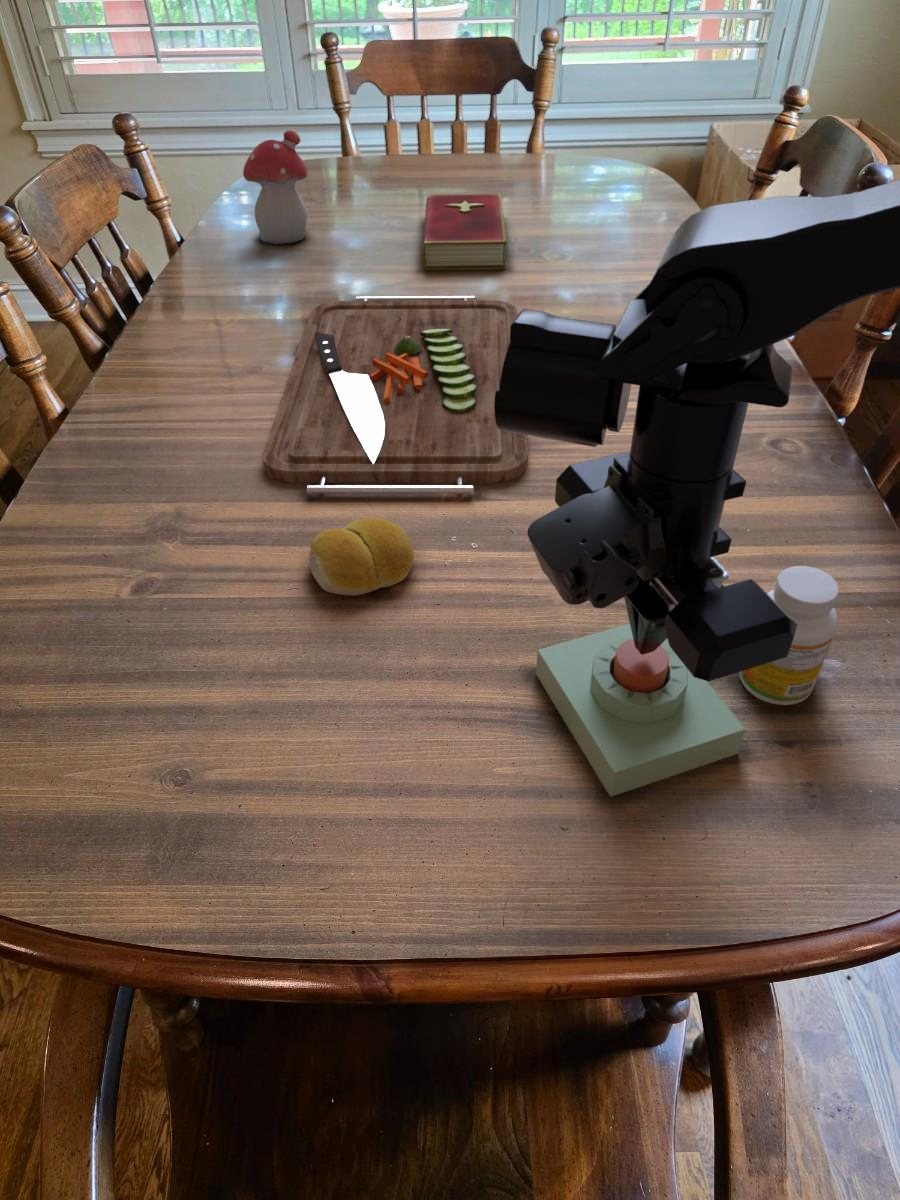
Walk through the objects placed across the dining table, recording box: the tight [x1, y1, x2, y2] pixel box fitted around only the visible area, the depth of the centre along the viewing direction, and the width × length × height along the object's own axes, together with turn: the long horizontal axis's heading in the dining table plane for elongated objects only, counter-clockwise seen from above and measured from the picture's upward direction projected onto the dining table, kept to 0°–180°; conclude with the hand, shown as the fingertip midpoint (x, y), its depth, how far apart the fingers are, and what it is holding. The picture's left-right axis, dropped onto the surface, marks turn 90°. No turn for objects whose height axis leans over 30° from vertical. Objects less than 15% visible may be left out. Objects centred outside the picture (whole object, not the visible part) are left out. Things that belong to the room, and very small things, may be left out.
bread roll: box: [307, 517, 415, 597], centre depth 75 cm, size 8×9×4 cm
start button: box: [613, 639, 669, 693], centre depth 60 cm, size 4×4×2 cm
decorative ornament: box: [242, 129, 308, 245], centre depth 131 cm, size 9×6×15 cm
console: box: [535, 623, 746, 798], centre depth 62 cm, size 10×12×4 cm
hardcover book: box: [421, 192, 507, 271], centre depth 132 cm, size 12×21×4 cm, turn 179°
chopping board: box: [262, 295, 529, 495], centre depth 99 cm, size 45×27×3 cm, turn 179°
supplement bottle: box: [738, 565, 840, 706], centre depth 62 cm, size 5×5×10 cm
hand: (644, 649), depth 59 cm, fingers closed
